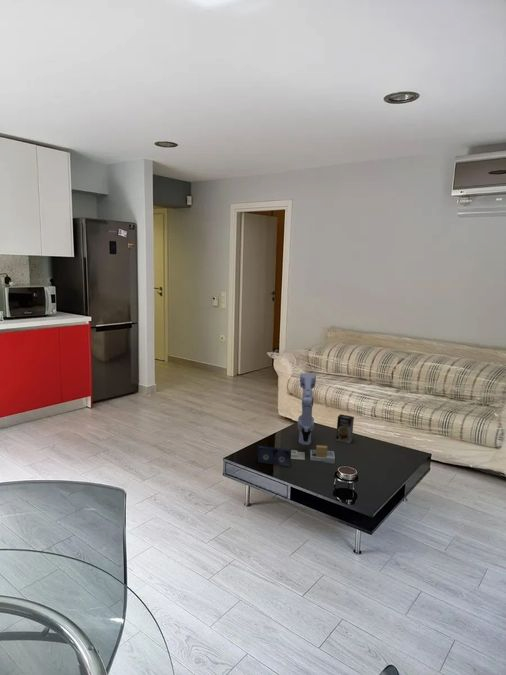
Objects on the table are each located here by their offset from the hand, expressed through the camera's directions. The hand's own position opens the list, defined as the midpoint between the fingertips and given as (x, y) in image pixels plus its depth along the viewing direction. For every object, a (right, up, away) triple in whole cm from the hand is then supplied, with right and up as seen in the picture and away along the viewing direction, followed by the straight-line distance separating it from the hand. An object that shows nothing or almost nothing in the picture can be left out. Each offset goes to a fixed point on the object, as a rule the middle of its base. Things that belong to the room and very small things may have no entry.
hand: (305, 438), depth 265 cm
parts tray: (+9, -11, -4) cm, 15 cm away
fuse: (+9, -10, -4) cm, 14 cm away
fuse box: (-10, -10, -2) cm, 14 cm away
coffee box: (+27, -7, +23) cm, 37 cm away
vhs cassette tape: (-19, -12, -14) cm, 27 cm away
